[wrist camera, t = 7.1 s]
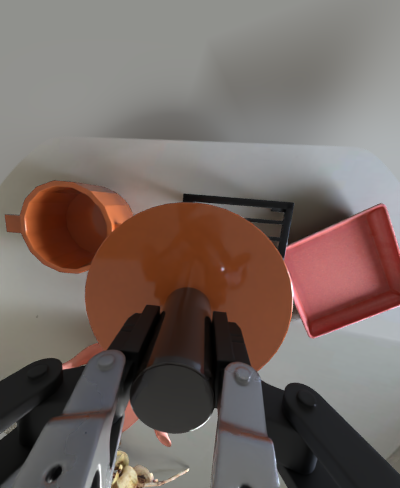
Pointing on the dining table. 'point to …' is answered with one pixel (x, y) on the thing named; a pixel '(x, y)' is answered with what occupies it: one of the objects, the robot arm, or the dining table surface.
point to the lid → (187, 302)
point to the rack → (275, 205)
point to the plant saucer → (345, 272)
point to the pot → (68, 223)
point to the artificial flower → (134, 474)
